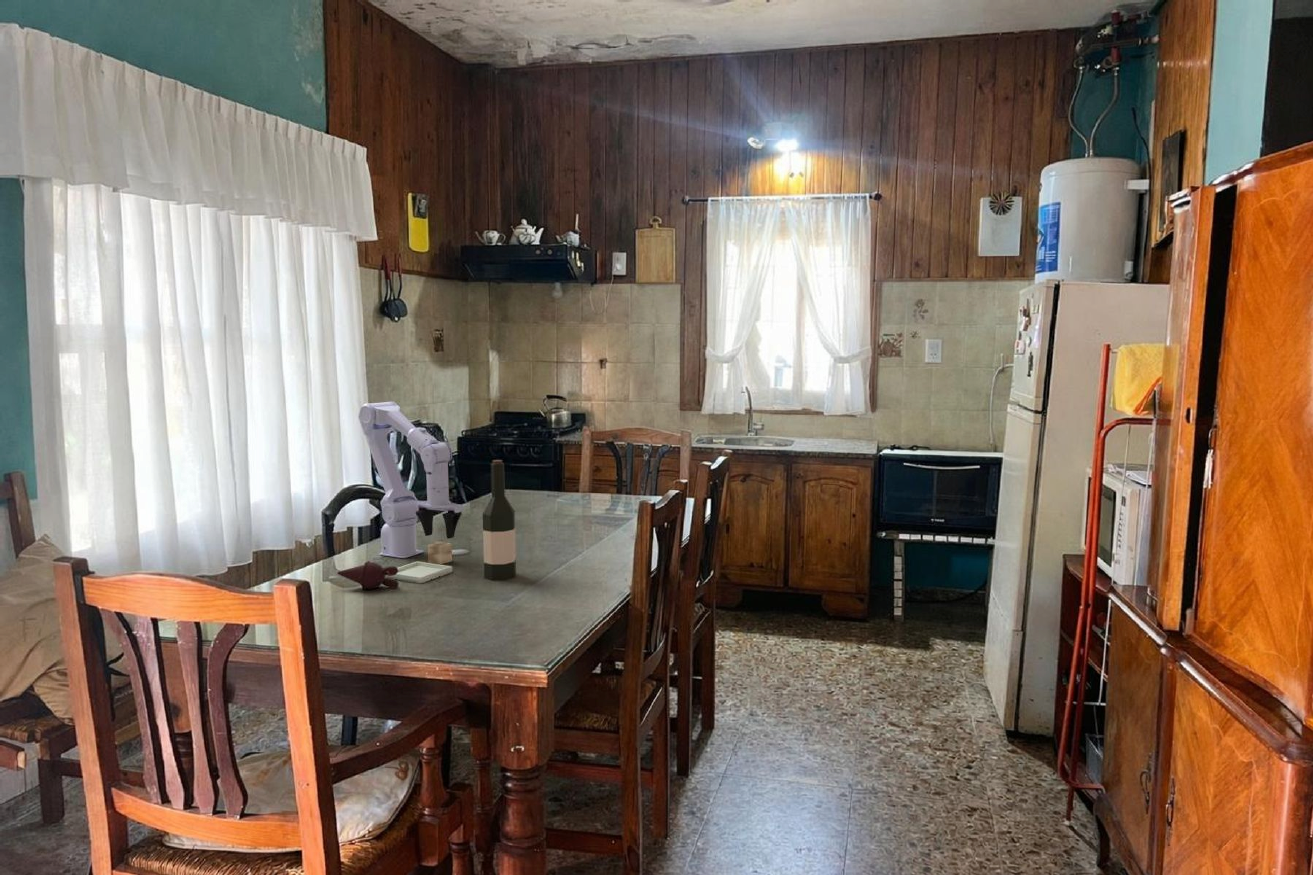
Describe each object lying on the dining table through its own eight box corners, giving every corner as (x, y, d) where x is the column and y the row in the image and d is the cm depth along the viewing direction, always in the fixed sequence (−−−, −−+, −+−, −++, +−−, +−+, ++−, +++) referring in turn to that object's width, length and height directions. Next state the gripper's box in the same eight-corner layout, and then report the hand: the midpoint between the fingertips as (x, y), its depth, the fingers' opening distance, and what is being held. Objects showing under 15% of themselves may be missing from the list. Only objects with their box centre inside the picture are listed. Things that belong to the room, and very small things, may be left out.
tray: (384, 577, 220) (384, 572, 220) (416, 566, 231) (416, 561, 230) (420, 583, 215) (420, 577, 214) (452, 571, 225) (452, 566, 225)
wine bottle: (522, 573, 223) (519, 459, 220) (506, 581, 216) (503, 463, 212) (494, 570, 226) (491, 457, 223) (477, 579, 218) (474, 462, 215)
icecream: (330, 567, 206) (393, 572, 206) (342, 552, 213) (402, 557, 213) (332, 592, 208) (394, 598, 208) (343, 577, 215) (403, 582, 215)
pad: (442, 554, 244) (442, 553, 244) (456, 549, 250) (456, 548, 250) (459, 556, 242) (459, 555, 242) (473, 551, 247) (473, 550, 247)
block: (428, 563, 235) (427, 545, 234) (439, 559, 239) (438, 541, 238) (441, 564, 233) (440, 546, 232) (452, 561, 237) (451, 543, 236)
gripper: (468, 486, 234) (470, 535, 235) (427, 483, 240) (428, 531, 242) (451, 490, 228) (453, 541, 229) (409, 487, 234) (411, 536, 236)
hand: (439, 536), depth 235 cm, fingers open, 7 cm apart
